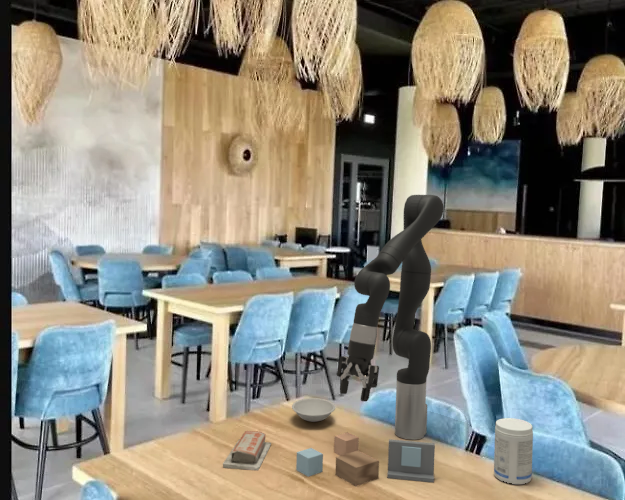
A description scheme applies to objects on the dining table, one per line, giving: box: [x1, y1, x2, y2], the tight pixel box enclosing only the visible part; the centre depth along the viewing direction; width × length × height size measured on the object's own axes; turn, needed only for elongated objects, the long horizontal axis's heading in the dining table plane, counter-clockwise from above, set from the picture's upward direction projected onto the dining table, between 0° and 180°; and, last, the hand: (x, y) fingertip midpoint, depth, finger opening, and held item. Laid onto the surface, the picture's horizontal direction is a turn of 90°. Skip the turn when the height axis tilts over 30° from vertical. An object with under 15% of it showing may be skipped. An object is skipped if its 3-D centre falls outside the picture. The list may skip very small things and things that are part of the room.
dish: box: [291, 397, 336, 423], centre depth 199 cm, size 18×14×5 cm
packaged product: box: [222, 430, 272, 471], centre depth 170 cm, size 18×5×10 cm
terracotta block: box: [333, 431, 360, 456], centre depth 174 cm, size 5×5×5 cm
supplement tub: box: [493, 417, 534, 485], centre depth 160 cm, size 10×10×15 cm
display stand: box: [386, 438, 436, 483], centre depth 160 cm, size 6×12×9 cm, turn 80°
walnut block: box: [334, 450, 380, 487], centre depth 159 cm, size 8×8×5 cm
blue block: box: [295, 447, 324, 478], centre depth 161 cm, size 5×5×5 cm
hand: (353, 397), depth 172 cm, fingers open, 8 cm apart
